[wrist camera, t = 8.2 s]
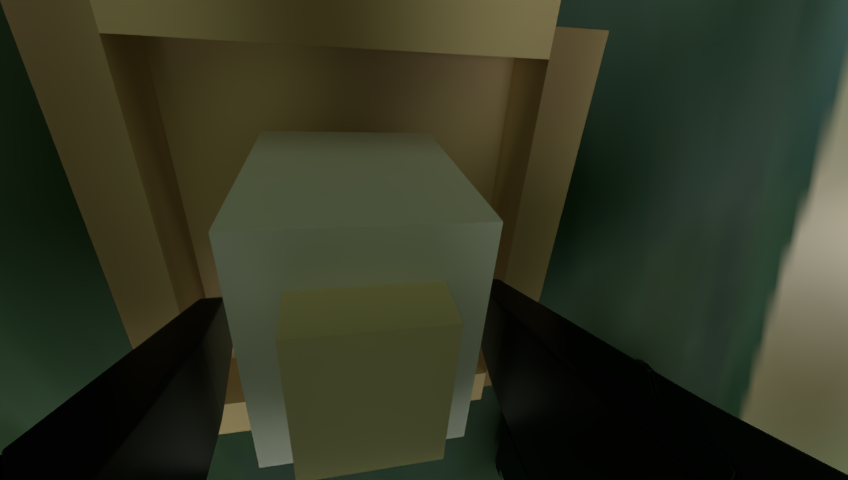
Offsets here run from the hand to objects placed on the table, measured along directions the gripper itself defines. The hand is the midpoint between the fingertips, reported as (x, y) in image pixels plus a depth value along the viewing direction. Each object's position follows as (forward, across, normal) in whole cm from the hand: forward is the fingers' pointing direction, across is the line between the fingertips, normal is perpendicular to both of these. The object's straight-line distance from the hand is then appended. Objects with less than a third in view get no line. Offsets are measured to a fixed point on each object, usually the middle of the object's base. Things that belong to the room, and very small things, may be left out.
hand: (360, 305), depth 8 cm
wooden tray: (+4, 0, 0) cm, 4 cm away
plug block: (+4, 0, 0) cm, 4 cm away
